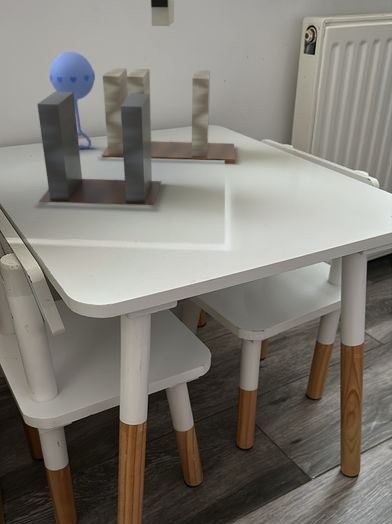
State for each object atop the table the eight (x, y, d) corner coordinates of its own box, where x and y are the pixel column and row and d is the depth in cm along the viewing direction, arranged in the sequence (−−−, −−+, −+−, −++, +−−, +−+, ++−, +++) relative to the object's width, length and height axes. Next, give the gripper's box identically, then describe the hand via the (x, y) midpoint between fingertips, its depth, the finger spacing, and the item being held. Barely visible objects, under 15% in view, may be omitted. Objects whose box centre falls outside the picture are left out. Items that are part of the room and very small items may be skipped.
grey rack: (39, 207, 87) (24, 105, 79) (58, 183, 97) (47, 90, 89) (154, 211, 87) (151, 108, 78) (161, 186, 97) (159, 93, 88)
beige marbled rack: (102, 160, 110) (96, 76, 101) (112, 144, 119) (107, 67, 111) (234, 164, 109) (239, 80, 100) (233, 148, 119) (237, 70, 110)
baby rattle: (59, 155, 112) (46, 55, 102) (57, 144, 119) (46, 49, 109) (102, 153, 114) (94, 54, 103) (98, 143, 120) (91, 49, 110)
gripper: (178, -184, 75) (179, 9, 87) (188, -154, 94) (188, 2, 106) (123, -185, 75) (131, 8, 88) (144, -154, 94) (148, 2, 106)
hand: (162, 5), depth 97 cm, fingers closed on white book, 10 cm apart
